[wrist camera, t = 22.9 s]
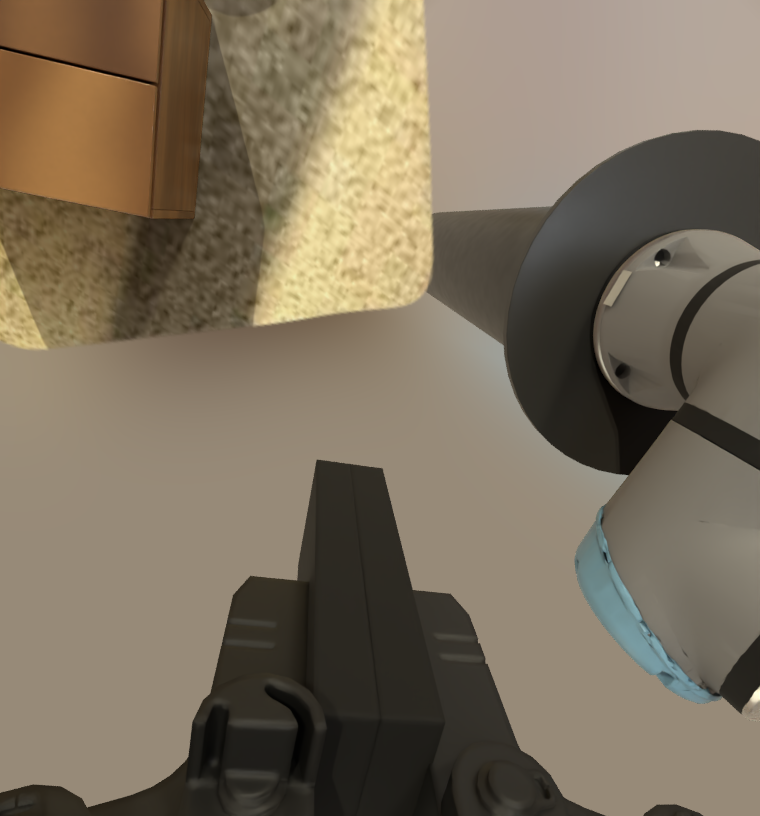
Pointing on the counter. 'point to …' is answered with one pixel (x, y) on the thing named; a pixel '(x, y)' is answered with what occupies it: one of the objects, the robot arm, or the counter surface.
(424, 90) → the counter surface
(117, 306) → the counter surface
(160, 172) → the carton
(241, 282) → the counter surface
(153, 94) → the flap
